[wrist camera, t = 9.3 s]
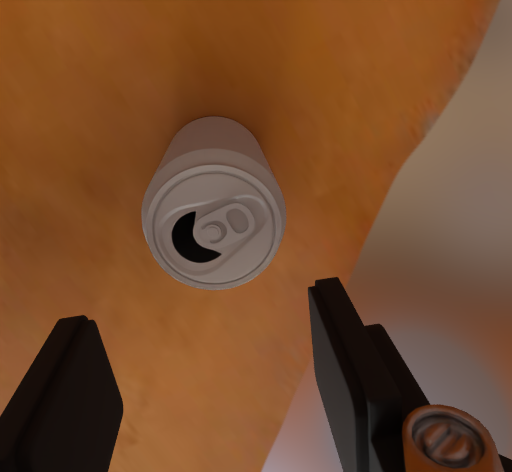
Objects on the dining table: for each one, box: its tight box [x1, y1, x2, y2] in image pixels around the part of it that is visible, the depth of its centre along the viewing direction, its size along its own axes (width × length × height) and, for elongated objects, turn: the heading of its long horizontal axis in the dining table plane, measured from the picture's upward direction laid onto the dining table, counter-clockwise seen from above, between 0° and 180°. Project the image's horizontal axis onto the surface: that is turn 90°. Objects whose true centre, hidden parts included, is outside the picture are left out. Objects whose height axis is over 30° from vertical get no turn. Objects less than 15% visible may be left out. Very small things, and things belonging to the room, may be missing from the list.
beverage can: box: [142, 116, 286, 290], centre depth 23 cm, size 6×6×12 cm
